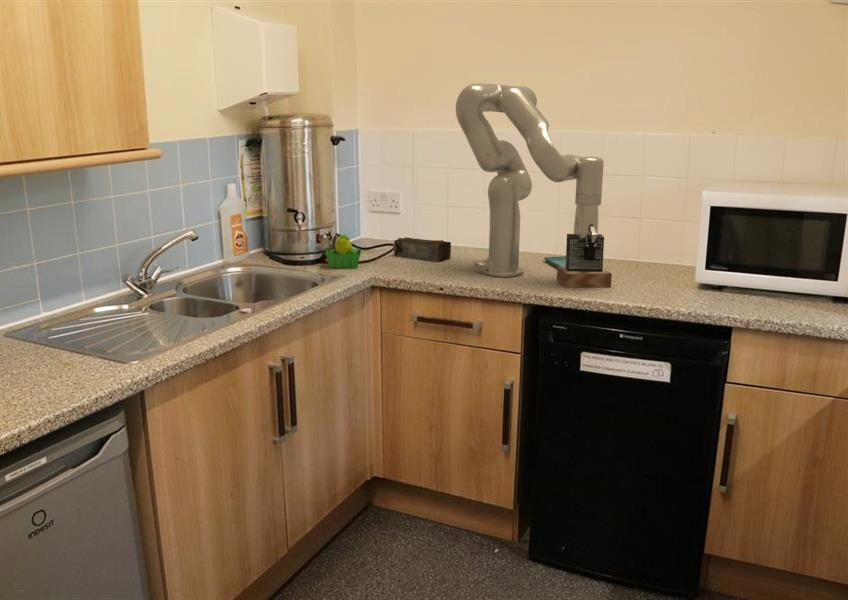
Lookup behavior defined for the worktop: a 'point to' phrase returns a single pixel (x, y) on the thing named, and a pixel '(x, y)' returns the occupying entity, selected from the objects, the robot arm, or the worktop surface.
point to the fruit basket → (343, 254)
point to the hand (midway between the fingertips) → (584, 256)
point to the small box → (577, 254)
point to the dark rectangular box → (422, 249)
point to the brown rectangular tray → (583, 278)
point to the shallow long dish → (556, 261)
